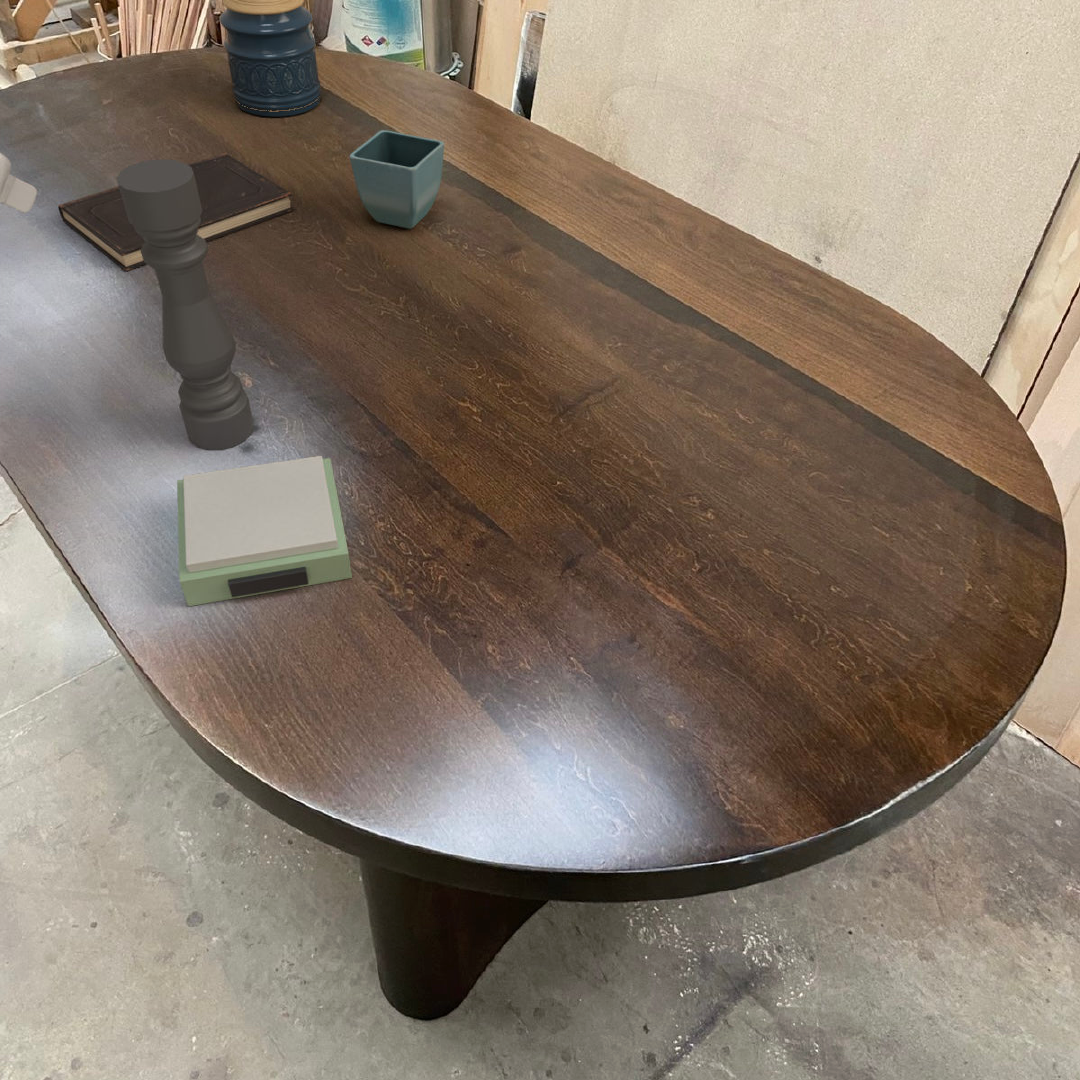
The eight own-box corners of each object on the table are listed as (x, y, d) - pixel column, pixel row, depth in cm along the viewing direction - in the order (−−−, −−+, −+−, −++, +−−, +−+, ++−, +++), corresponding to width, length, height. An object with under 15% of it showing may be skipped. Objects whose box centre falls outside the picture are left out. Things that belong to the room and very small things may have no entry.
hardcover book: (294, 210, 123) (291, 193, 121) (126, 271, 111) (120, 253, 109) (226, 167, 130) (222, 151, 129) (62, 221, 118) (56, 203, 117)
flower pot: (386, 196, 126) (381, 127, 120) (448, 209, 124) (446, 140, 118) (354, 226, 120) (347, 155, 114) (418, 240, 118) (414, 169, 112)
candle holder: (239, 454, 89) (176, 198, 72) (176, 445, 90) (97, 189, 72) (263, 413, 94) (209, 162, 76) (202, 405, 94) (135, 154, 76)
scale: (188, 611, 76) (176, 577, 73) (184, 505, 84) (174, 471, 82) (353, 582, 79) (347, 548, 76) (334, 482, 87) (328, 448, 84)
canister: (304, 79, 153) (288, -47, 140) (335, 109, 145) (320, -21, 132) (223, 93, 148) (199, -37, 135) (250, 124, 140) (227, -10, 127)
